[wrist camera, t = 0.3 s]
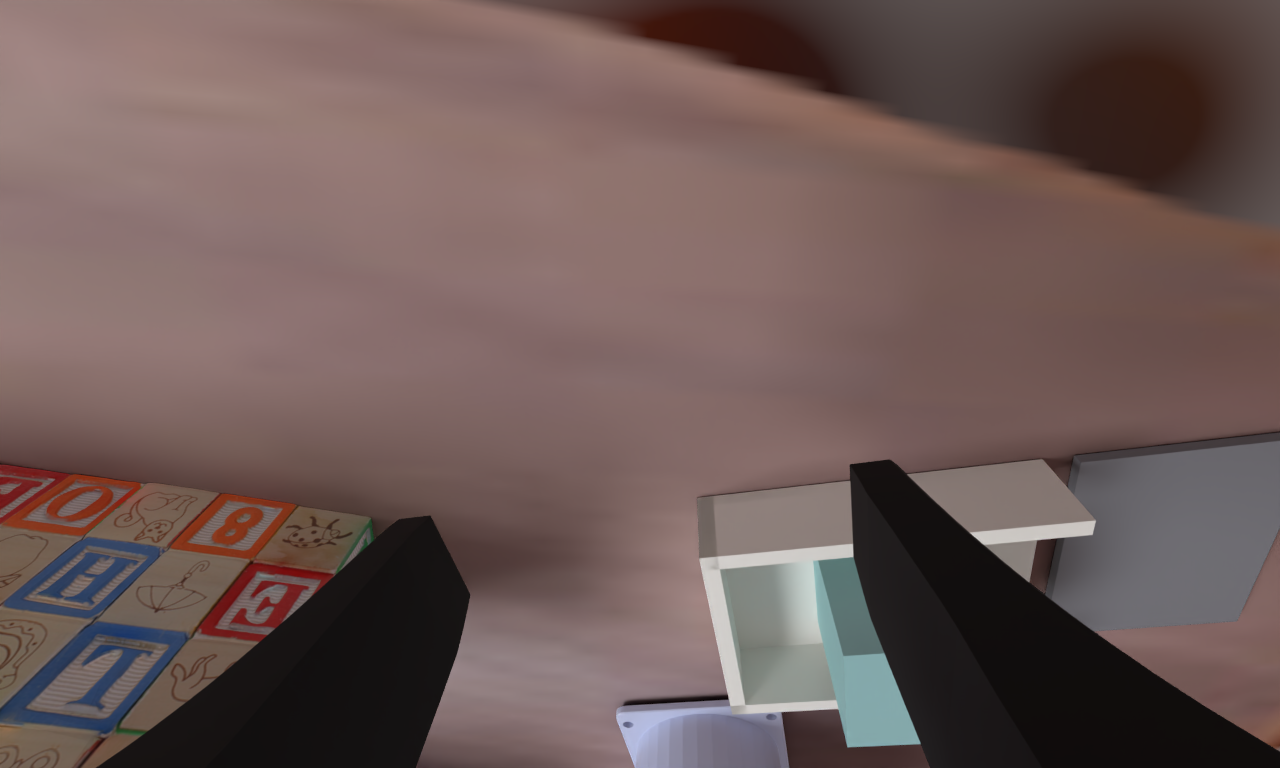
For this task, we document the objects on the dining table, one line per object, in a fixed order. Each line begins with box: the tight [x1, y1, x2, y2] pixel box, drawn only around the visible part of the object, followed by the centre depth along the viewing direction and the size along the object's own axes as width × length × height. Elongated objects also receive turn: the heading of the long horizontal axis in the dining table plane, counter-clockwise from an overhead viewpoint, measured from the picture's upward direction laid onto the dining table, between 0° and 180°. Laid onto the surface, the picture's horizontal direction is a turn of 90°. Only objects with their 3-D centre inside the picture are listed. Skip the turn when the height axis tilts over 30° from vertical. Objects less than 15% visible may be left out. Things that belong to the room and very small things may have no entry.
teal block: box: [813, 557, 921, 747], centre depth 20 cm, size 5×5×5 cm
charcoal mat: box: [1045, 432, 1280, 631], centre depth 21 cm, size 9×7×1 cm
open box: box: [697, 459, 1096, 715], centre depth 22 cm, size 9×12×3 cm
